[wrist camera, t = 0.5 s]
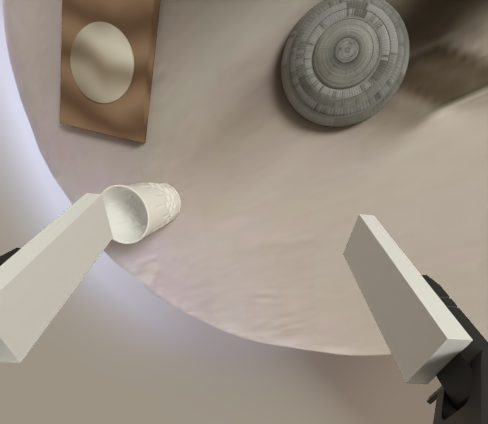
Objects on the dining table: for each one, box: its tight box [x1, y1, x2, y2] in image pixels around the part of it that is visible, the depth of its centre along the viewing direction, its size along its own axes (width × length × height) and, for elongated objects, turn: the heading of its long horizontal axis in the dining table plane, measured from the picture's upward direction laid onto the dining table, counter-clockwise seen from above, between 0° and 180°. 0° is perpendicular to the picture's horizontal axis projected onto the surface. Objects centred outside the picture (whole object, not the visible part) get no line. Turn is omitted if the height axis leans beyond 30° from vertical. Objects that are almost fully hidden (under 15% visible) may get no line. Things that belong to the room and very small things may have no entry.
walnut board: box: [60, 0, 160, 142], centre depth 38 cm, size 20×15×2 cm
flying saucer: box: [281, 0, 410, 127], centre depth 29 cm, size 15×15×6 cm
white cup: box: [101, 183, 181, 244], centre depth 36 cm, size 8×8×10 cm
